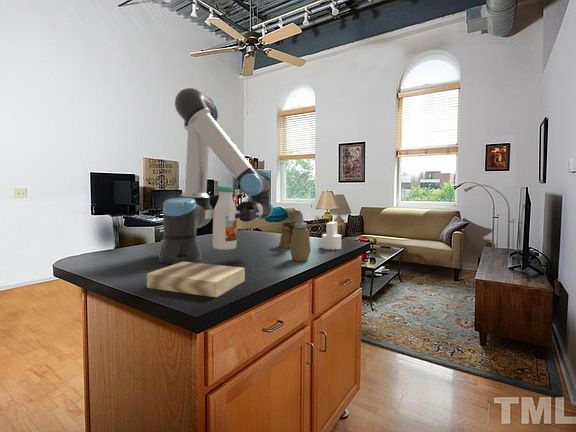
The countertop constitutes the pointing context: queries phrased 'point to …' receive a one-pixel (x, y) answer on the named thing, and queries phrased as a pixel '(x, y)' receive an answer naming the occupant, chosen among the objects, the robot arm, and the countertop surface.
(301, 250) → the squeeze bottle
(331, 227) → the white tiered cake
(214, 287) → the board
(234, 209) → the milk bottle
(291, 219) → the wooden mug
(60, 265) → the countertop surface
